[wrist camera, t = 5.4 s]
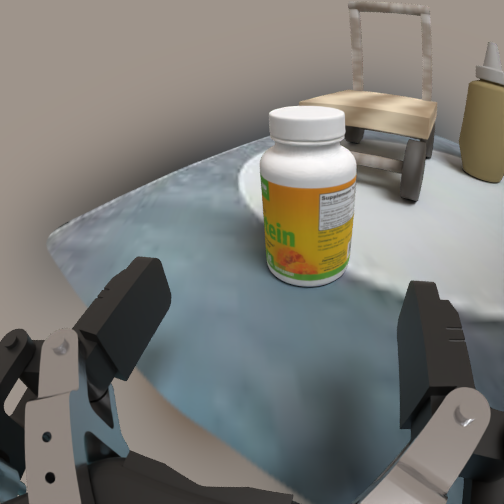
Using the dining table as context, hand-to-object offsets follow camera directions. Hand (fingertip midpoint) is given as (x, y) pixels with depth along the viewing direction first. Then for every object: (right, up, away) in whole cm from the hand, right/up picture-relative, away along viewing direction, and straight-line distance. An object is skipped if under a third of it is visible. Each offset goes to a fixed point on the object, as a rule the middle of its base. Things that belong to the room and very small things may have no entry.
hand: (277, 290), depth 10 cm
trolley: (+14, +12, +26) cm, 32 cm away
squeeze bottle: (+29, +11, +23) cm, 39 cm away
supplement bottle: (+3, 0, +11) cm, 11 cm away
